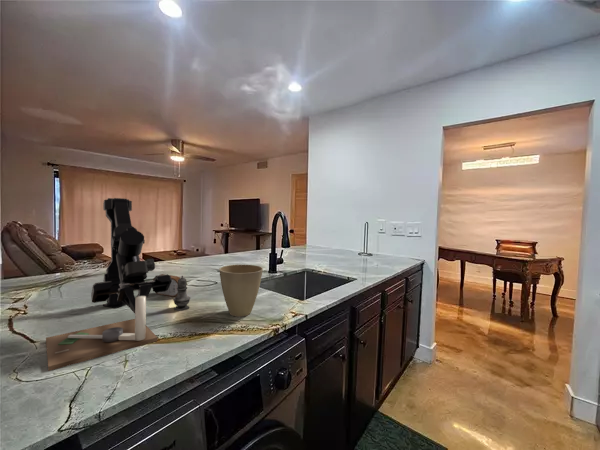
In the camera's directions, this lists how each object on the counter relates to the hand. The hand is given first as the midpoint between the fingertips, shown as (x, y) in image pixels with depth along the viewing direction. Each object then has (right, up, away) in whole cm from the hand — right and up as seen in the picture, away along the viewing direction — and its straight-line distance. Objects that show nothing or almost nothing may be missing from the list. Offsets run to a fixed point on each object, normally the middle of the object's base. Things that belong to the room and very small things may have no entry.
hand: (139, 314), depth 72 cm
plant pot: (+22, -8, +23) cm, 33 cm away
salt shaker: (0, -7, +26) cm, 27 cm away
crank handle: (-8, -6, -1) cm, 10 cm away
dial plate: (-10, -7, 0) cm, 12 cm away
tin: (-13, -6, +41) cm, 44 cm away
